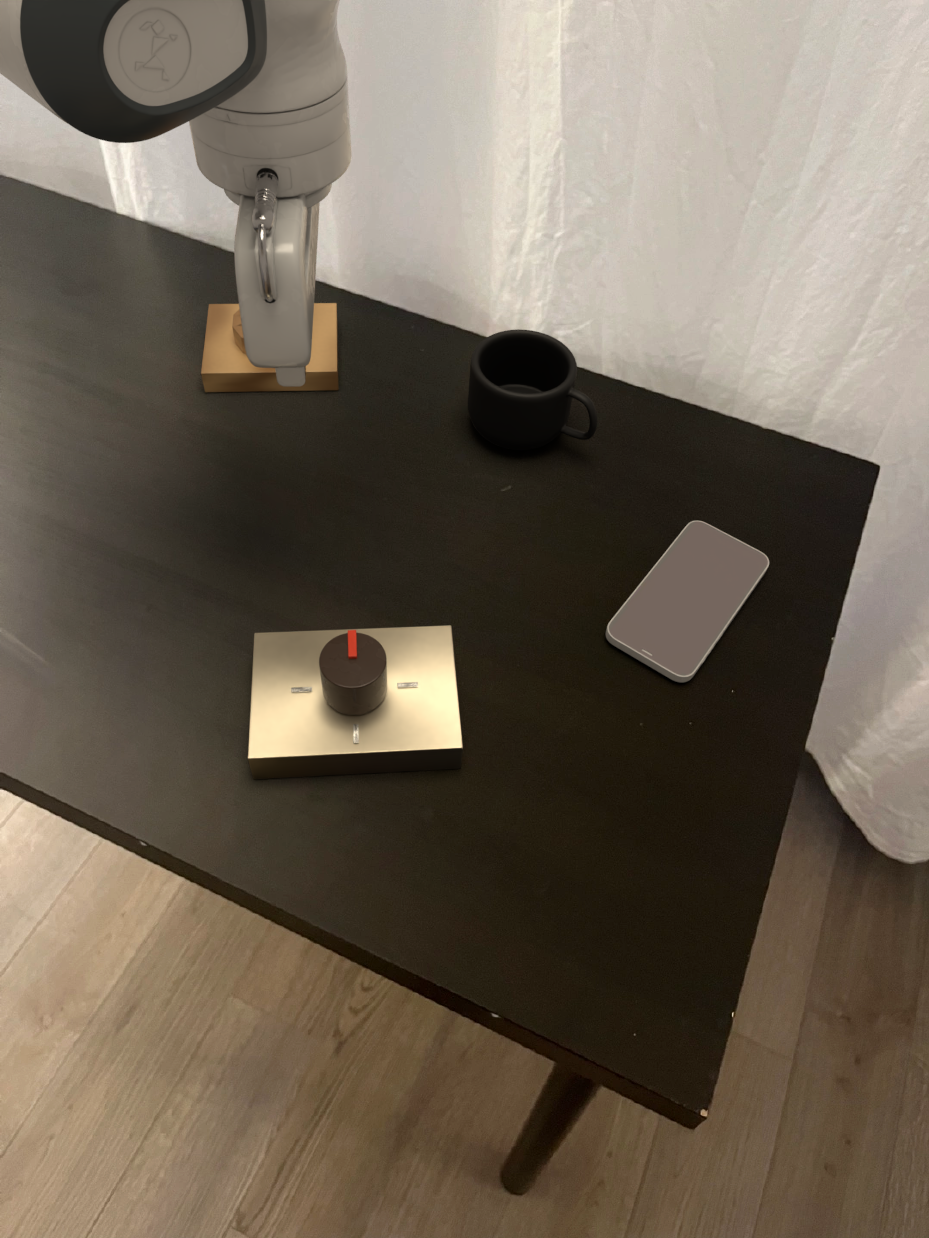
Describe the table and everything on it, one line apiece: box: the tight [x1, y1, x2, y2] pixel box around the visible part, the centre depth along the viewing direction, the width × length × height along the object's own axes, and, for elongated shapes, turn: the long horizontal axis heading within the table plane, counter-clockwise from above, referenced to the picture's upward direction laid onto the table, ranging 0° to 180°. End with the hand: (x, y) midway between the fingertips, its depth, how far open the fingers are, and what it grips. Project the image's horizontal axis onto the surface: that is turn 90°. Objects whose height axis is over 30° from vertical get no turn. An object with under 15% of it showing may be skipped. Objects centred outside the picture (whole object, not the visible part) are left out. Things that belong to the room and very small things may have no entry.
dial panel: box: [247, 624, 464, 780], centre depth 66 cm, size 14×10×3 cm
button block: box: [200, 302, 339, 393], centre depth 88 cm, size 12×10×4 cm
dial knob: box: [319, 630, 387, 715], centre depth 64 cm, size 4×4×4 cm
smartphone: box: [605, 520, 770, 683], centre depth 75 cm, size 7×1×15 cm
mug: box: [467, 329, 598, 451], centre depth 83 cm, size 12×9×7 cm
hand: (295, 333), depth 65 cm, fingers open, 8 cm apart
